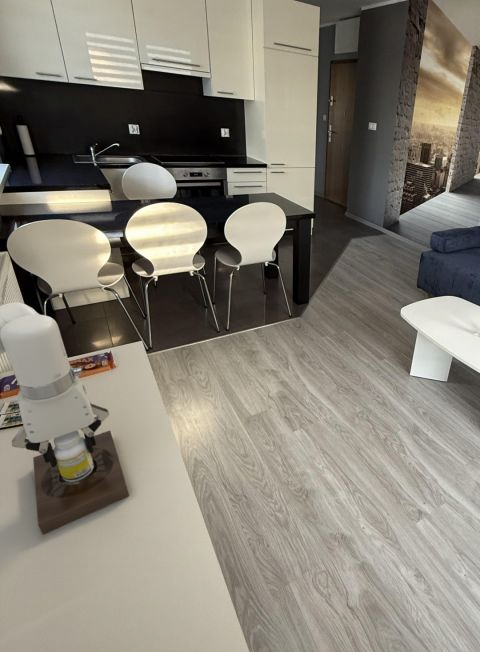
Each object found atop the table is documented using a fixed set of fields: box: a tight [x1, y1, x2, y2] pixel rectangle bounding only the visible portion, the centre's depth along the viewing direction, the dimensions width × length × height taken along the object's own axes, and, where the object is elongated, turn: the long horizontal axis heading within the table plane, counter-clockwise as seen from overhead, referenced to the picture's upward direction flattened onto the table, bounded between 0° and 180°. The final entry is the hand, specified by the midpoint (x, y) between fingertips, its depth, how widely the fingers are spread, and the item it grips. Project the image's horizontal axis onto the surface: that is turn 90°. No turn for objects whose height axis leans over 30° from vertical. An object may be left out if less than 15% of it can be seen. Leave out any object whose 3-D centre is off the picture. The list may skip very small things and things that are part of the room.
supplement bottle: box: [53, 430, 94, 483], centre depth 78 cm, size 5×5×10 cm
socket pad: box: [32, 430, 130, 535], centre depth 81 cm, size 18×14×3 cm
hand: (72, 454), depth 78 cm, fingers closed on supplement bottle, 5 cm apart
